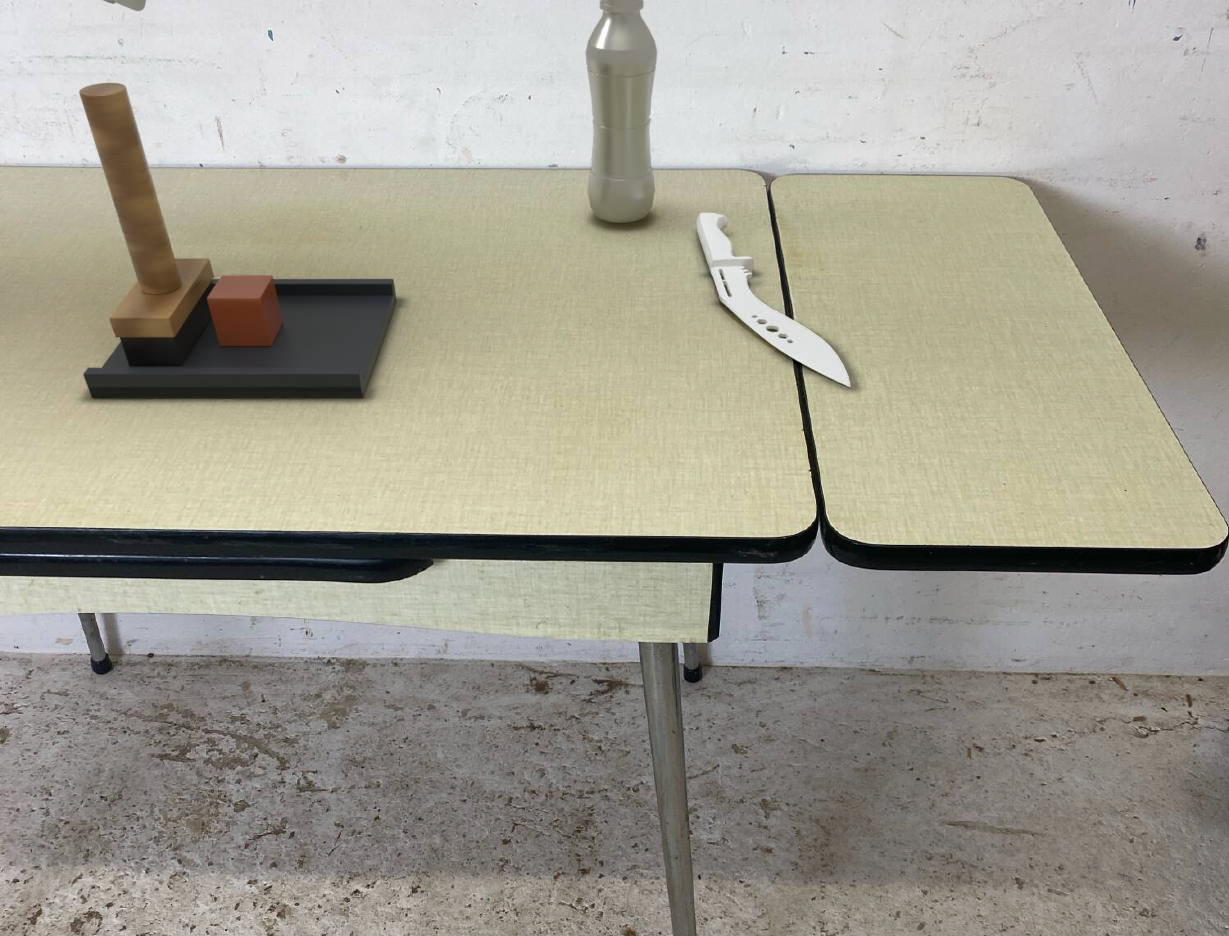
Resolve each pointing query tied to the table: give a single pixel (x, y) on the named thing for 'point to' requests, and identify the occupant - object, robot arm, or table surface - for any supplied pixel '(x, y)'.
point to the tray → (273, 350)
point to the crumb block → (245, 310)
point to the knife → (752, 310)
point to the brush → (146, 242)
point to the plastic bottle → (621, 112)
